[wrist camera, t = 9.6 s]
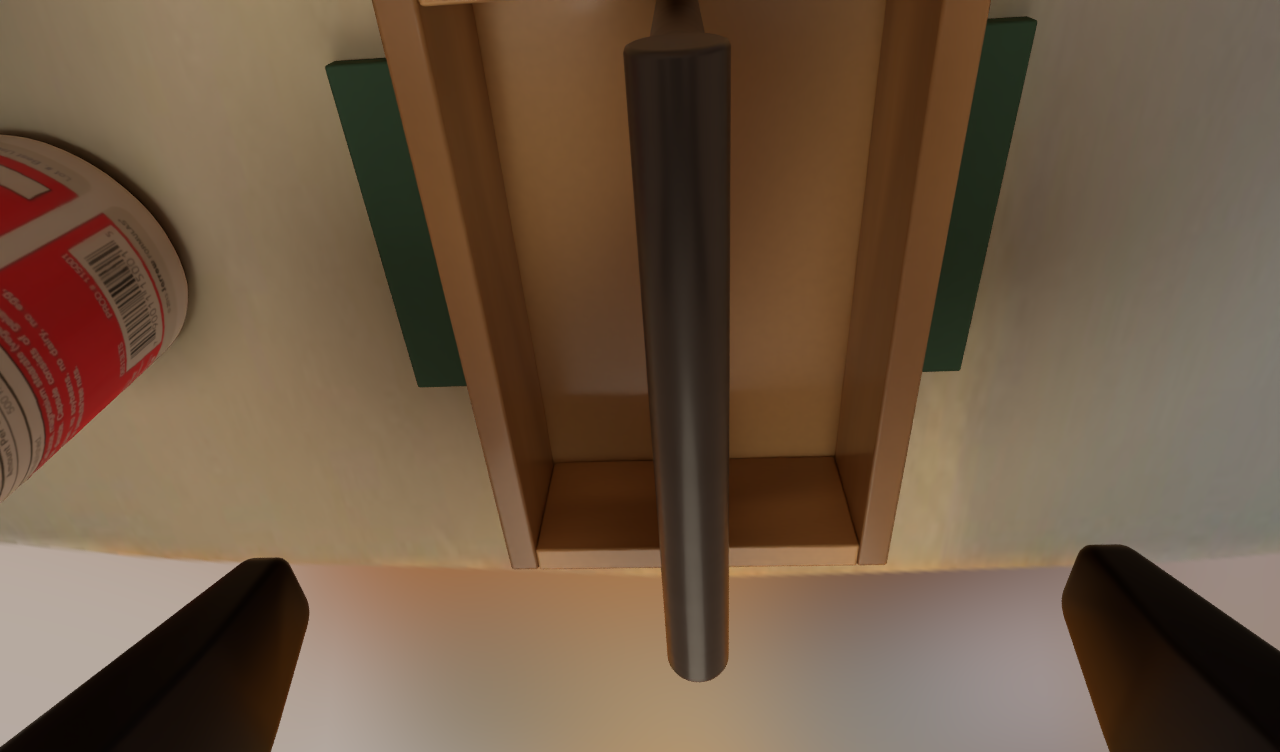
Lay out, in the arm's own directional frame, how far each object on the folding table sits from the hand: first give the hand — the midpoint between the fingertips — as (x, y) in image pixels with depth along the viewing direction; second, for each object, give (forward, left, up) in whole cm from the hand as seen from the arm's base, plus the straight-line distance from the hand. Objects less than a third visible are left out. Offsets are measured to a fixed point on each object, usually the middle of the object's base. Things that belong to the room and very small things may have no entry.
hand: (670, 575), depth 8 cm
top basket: (0, 0, -10) cm, 10 cm away
